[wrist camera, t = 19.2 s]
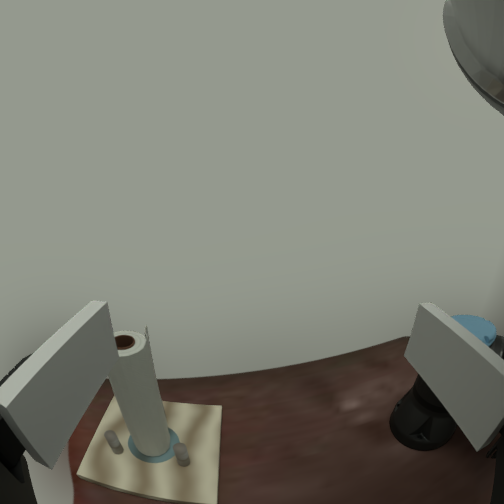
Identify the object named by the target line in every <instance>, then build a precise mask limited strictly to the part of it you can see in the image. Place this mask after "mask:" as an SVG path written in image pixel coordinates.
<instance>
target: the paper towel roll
mask: <svg viewBox="0 0 504 504" xmlns="http://www.w3.org/2000/svg"><path fill="white" fill-rule="evenodd" d="M145 336H146V339H145V337H144V336H143V335H142V334H140V333H137V332H134V331H118V332H115V333H114V337H115V342H116V346H117V350H118V354H119V359H118V360H117V362H116V363H115V365H114V366H113V368H112V369H111V371H110V373H109V374H108V376H109V380H110V383H111V386H112V389H113V392H114V394H115V397H116V400H117V403H118V405H119V408H120V411H121V413H122V416H123V418H124V421H125V423H126V425H127V428H128V430H129V432H130V435H131V437H132V439H133V441H134V444H135V446H136V448H137V449H138V450H139V451H140V452H141V453H143V454H144V455H146V456H152V457H154V456H160V455H162V454H164V453H166V452H167V450H168V449H169V447H170V434H169V431H168V427H167V426H168V424H167V421H166V417H165V413H164V409H163V405H162V401H161V397H160V393H159V388H158V384H157V379H156V375H155V370H154V364H153V359H152V354H151V348H150V342H149V336H148V331H147V326H146V327H145Z"/></svg>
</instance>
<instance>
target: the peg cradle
mask: <svg viewBox="0 0 504 504" xmlns="http://www.w3.org/2000/svg"><path fill="white" fill-rule="evenodd" d="M161 401H162V399H161ZM162 405H163V409H164V413H165V417H166V421H167V424H168V426H167V427H168V431H169V434H170V447H169V449H168V450H167V452H166V453H164V454H162V455H160V456H154V457H152V456H146V455H144V454H143V453H141V452H140V451H139V450H138V449H137V448H136V446H135V444H134V441H133V439H132V437H131V435H130V432H129V430H128V428H127V425H126V423H125V421H124V418H123V416H122V413H121V411H120V408H119V405H118V403H117V400H116V397H115V395H114V397H113V399H112V401H111V403H110V405H109V407H108V409H107V411H106V413H105V415H104V417H103V419H102V421H101V423H100V425H99V427H98V429H97V431H96V433H95V435H94V437H93V439H92V441H91V443H90V445H89V448H88V450H87V452H86V454H85V456H84V458H83V461H82V463H81V465H80V467H79V470H78V472H77V475H78V476H79V477H80V478H81V479H84V480H86V481H89V482H92V483H95V484H98V485H101V486H104V487H107V488H110V489H113V490H117V491H120V492H124V493H128V494H132V495H136V496H140V497H144V498H149V499H154V500H159V501H165V502H171V503H178V504H218V480H219V458H220V438H221V420H222V406H215V405H198V404H185V403H175V402H166V401H162Z"/></svg>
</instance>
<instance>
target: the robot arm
mask: <svg viewBox="0 0 504 504" xmlns="http://www.w3.org/2000/svg"><path fill="white" fill-rule="evenodd" d="M443 23H444V28H445V33H446V36H447V39H448V42H449V45H450V48H451V50H452V53H453V55H454V57H455V60H456V62H457V64H458V66H459V67H460V68H461V70H462V72H463V73H464V75H465V77H466V78H467V80H468V81H469V82H470V83H471V85H472V86H473V87H474V88H475V90H476V91H477V92H478V93H479V94H480V95H481V96H482V97H483V98H484V99H485V100H486V101H487V102H488V103H489V104H490V105H491V106H492V107H494V108H495V109H496V110H498V111H499V112H500V113H501V114H503V115H504V0H446V1H445V5H444V9H443ZM404 356H405V357H406V359H407V360H408V361H409V362H410V364H411V365H412V366H413V367H414V368H415V370H416V371H417V372H418V373H419V374H418V376H417V378H416V381H415V383H414V385H413V387H412V388H411V389H410V390H409V391H408V392H407V393H406V394H405V395H404V397H403V398H402V399H401V400H400V401H399V402H398V403H397V404H396V406H395V408H394V410H393V412H392V414H391V417H390V427H391V430H392V432H393V434H394V436H395V437H396V438H397V439H398V440H399V441H400V442H401V443H403V444H404V445H406V446H408V447H410V448H413V449H417V450H432V449H436V448H438V447H440V446H442V445H444V444H445V443H446V442H447V441H448V440H449V439H450V437H451V436H452V434H453V433H454V431H455V429H456V427H457V424H458V426H459V427H460V428H461V430H462V431H463V433H464V434H465V435H466V437H467V438H468V440H469V441H470V443H471V444H472V445H473V447H474V448H475V450H476V451H477V452H478V451H479V450H481V449H482V448H484V447H485V446H487V445H489V444H490V443H491V441H492V440H493V439H494V438H495V436H496V435H497V434H498V432H500V434H501V435H502V436H501V437H500V438H499V439H498V441H497V442H496V443H495V444H494V446H493V447H492V448H491V449H490V451H489V452H488V453H487V456H486V458H488V457H489V456H490V455H491V454H492V453H493V452H494V450H496V449H497V451H496V452H495V453H494V454H493V456H492V457H491V458H496V468H495V478H494V485H493V492H492V497H491V503H490V504H504V337H503V336H498V335H496V328H495V326H494V324H492V323H491V322H490V321H486V320H485V319H484V318H481V317H478V316H472V315H456V316H452V317H450V316H449V315H448V314H446V313H445V312H444V311H442V310H441V309H439V308H438V307H437V306H435V305H434V304H433V303H421V304H419V307H418V311H417V314H416V318H415V322H414V326H413V329H412V333H411V336H410V339H409V342H408V345H407V349H406V352H405V355H404ZM118 359H119V354H118V350H117V346H116V342H115V337H114V333H113V328H112V324H111V319H110V314H109V309H108V303H107V302H103V301H94V300H92V301H91V302H90V303H89V304H88V305H86V306H85V307H84V308H83V309H82V310H81V311H79V312H78V313H77V314H76V315H75V316H74V317H73V318H71V319H70V320H69V321H68V322H67V323H66V324H65V325H64V326H62V327H61V328H60V329H59V330H58V331H57V332H56V333H55V334H54V335H53V336H51V337H50V338H49V339H48V340H47V341H46V342H45V343H44V344H43V345H42V346H41V347H40V348H38V349H37V350H36V352H34V353H33V354H31V355H29V356H27V357H25V358H23V359H22V360H21V361H20V362H19V363H18V364H17V365H16V366H15V369H14V368H13V369H12V370H11V371H10V372H9V373H8V375H6V376H5V377H4V378H3V379H2V380H1V381H0V504H37V501H36V498H35V495H34V490H33V487H32V483H31V479H30V474H29V470H28V465H27V461H26V459H25V457H24V456H23V453H24V451H25V450H27V452H28V453H29V454H30V455H31V457H32V458H33V459H34V460H35V461H37V462H39V463H41V464H42V465H44V466H46V467H48V468H50V469H53V467H54V465H55V463H56V462H57V459H58V458H59V456H60V454H61V452H62V451H63V449H64V447H65V445H66V443H67V442H68V440H69V438H70V436H71V435H72V433H73V431H74V429H75V428H76V426H77V424H78V423H79V421H80V419H81V418H82V416H83V414H84V413H85V411H86V409H87V408H88V406H89V404H90V403H91V401H92V399H93V398H94V396H95V395H96V393H97V391H98V390H99V388H100V387H101V385H102V383H103V382H104V380H105V379H106V377H107V376H108V374H109V373H110V371H111V369H112V368H113V366H114V365H115V363H116V362H117V360H118Z"/></svg>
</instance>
